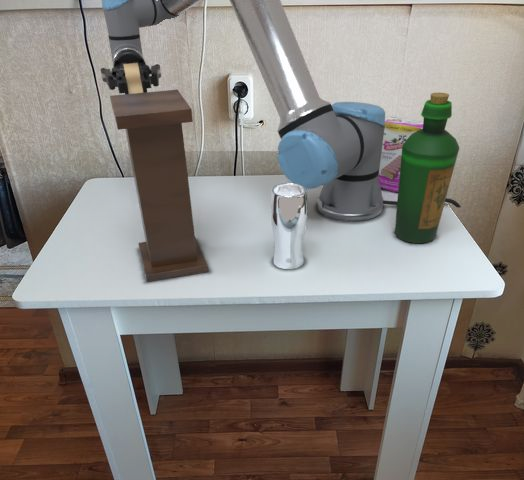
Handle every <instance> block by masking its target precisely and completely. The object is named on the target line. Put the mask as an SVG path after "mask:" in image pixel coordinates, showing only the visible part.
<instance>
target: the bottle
mask: <svg viewBox="0 0 524 480" xmlns="http://www.w3.org/2000/svg"><path fill="white" fill-rule="evenodd" d="M449 97H450V94H449V93H446V92H439V91H438V92H432V93H430V99H427V100H426V101H425V102H424V105H423V108H422V111H421V113H420V115H421V116H422V118H423V121H422V122H423V129H420V130H418V131H416V132H414V133H413V134H411V135H410V137H409V138H408V139H407V140H406V142H405V143H404V144H403V145H402V155H401V167H400V178H399V190H398V193H397V200H396V201H397V205H396V214H395V223H394V224H395V225H394V234H395V235H396V237H397V238H399V239H401V240H402V241H405V242H407V243H412V244H424V243H429V242H431V241H433V240H434V239H435V238H436V236H437V233H438V228H439V225H440V221H441V217H442V215H443V210H444V207H445V204H446V202H445V199H446V198H447V195H448V192H449V189H450V185H451V184H450V183H451V180H452V177H453V173H454V169H455V166H456V162H457V158H458V155H459V151H460V146H459V143H458V141H457V139H456V137H454V136H453V135H452V133H450V132H449V131H447V130H446V126H447V123H448V120H449V119H451V117H452V116H453V114H452V113H453V111H452V109H453V106H452V105H453V104H452V101H450V100H449Z"/></svg>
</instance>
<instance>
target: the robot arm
mask: <svg viewBox="0 0 524 480" xmlns="http://www.w3.org/2000/svg"><path fill="white" fill-rule="evenodd" d="M202 1H203V0H158V1H156V0H101V8H102V10H103V14H104V19H105V25H106V29H107V34H108V43H109V48H110V54H111V55H110V56H111V61H112V68H111V69H110V68H105V67H101V68H100V74H101V79H102V82H103V83H106V85H107V87H108V89H109V90H111V91H114V90H115V89H116V88H117V90H118V94H120V95H123V94H129V93H128V87H127V81H126V77H125V71H124V65H123V64H130V63H138V66H139V72H140V77H141V83H142V88H143V93H145V92H148V89H152V86H153V87H155V88H156V87H159V86H160V78H162V70H161V65H160V64H158V63H156V64H153V65H151V66H149V65H148V64H147V63H146V60H145V58H144V55H143V47H142V42H141V31H140V28H145V27H146V28H147V27H153V26H158V25H157V24H159V23H160V22H162V21H163V20H165V19H171V18H175V17H177V16H179V15H180V14H182V13H184V12H185V11H186V12H187V11H188V10H190V9H191V8H193V7H194V6H196V5H198V4H199V3H200V2H202ZM229 3H230V5H231V6H232V7H231V8H232V9H233V12H234V14H235V16H236V19H237V21H238V23H239V25H240V28H241V31H242V32H243V35H244V38H245V41H246V42H247V45H248V47H249V49H250V51H251V53H252V56H253V58H254V60H255V63H256V65H257V67H258V70H259V72H260V75H261V77H262V79H263V81H264V83H265V86H266V89H267V91H268V93H269V95H270V98H271V100H272V102H273V105H274V107H275V110H276V112H277V114H278V116H279V119H280V120H279V124H278V127H277V130H276V131H277V134H278V136H279V138H280V141H279V143H278V145H277V151H278V152H277V155H276V156H277V162H278V165H279V168H280V171H281V172H282V173H283V175H284V176H285V178H286V179H287V180H288V181H289V182H290V183H297V184H301V185H303V186H305V187H306V188H307V190H312V189H316V188H318V187H319V188H320V187H321V190H320V193H319V195H318V197H317V200H316V203H317V210H318V211H319V213H320V214H322V215H323V216H325V217H327V218H329V219H333V220H336V221H342V222H363V221H368V220H371V219H374V218H376V217H378V216H379V215H381V214H382V212H383V207H384V205H387V206H388V205H389V206H397V201H398V200H384V198H383V193H382V189H381V188H380V183H379V177H378V176H379V168H380V160H381V152H382V144H383V136H384V129H385V116H386V111H385V109H384V108H383V107H381V106H380V105H376V104H373V103H367V102H359V101H335V102H334V103H331V102H330V101H327V100H325V99H322V98H321V97H320V95H319V92H318V90H317V87H316V85H315V82H314V80H313V78H312V75H311V73H310V70H309V67H308V65H307V62H306V60H305V57H304V55H303V53H302V50H301V48H300V45H299V43H298V41H297V38H296V36H295V33H294V31H293V28H292V26H291V23H290V21H289V18H288V16H287V14H286V10H285V9H284V6H283V4H282V1H281V0H229ZM445 203H448V204H452V205H453V206H455V208H462V206H461V205H460V204H459V202H457V200H454V199H452V198H447V197H446V199H445Z"/></svg>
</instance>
